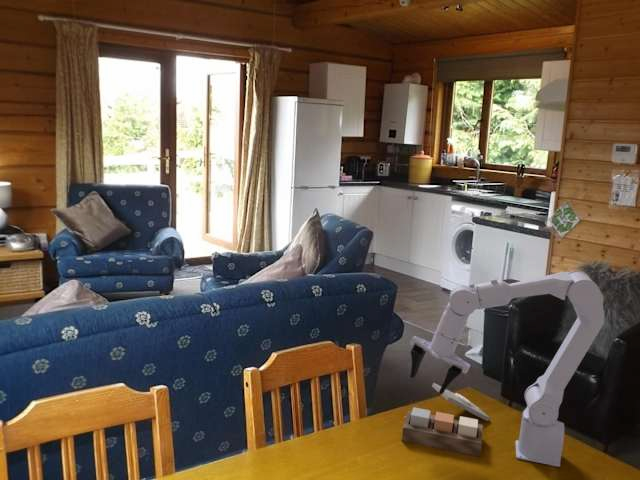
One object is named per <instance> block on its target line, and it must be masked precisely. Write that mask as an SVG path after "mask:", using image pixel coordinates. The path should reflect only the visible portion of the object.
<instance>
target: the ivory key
mask: <svg viewBox="0 0 640 480" xmlns="http://www.w3.org/2000/svg"><path fill="white" fill-rule="evenodd" d="M478 424H479V419H476V418H471V417H467V416H459V428H458V434H460V435H465V436H470V437H475V438H476V435H477V427H478Z"/></svg>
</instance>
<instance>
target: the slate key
mask: <svg viewBox="0 0 640 480" xmlns="http://www.w3.org/2000/svg"><path fill="white" fill-rule="evenodd" d="M411 411H412V413H411V419H410V425H414V426H419V427H424V428H428V425H429V420H430V415H431V410H429V409H425V408H419V407H414V406H413V407H412V410H411Z"/></svg>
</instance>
